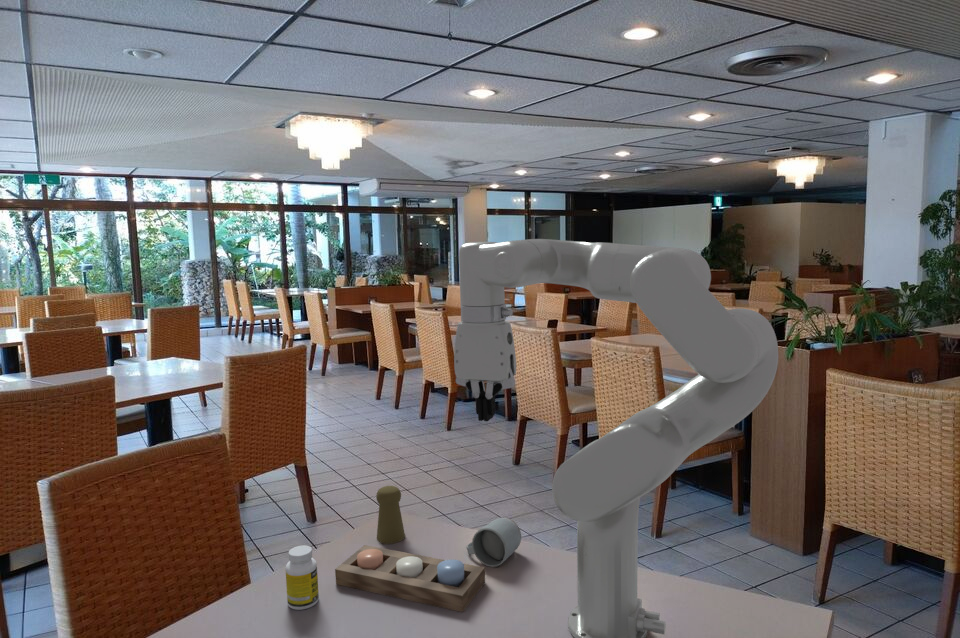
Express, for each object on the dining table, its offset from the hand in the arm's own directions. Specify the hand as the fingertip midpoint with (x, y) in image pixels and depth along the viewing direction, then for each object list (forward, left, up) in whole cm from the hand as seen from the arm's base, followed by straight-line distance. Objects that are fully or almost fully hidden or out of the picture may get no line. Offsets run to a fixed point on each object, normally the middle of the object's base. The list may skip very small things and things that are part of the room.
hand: (486, 418), depth 115 cm
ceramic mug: (+4, -11, -32) cm, 35 cm away
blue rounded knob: (+6, +3, -30) cm, 31 cm away
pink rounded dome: (+24, +3, -31) cm, 39 cm away
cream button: (+15, +3, -31) cm, 35 cm away
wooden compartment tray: (+15, +3, -32) cm, 36 cm away
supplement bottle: (+30, +15, -32) cm, 47 cm away
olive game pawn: (+28, -12, -32) cm, 44 cm away
